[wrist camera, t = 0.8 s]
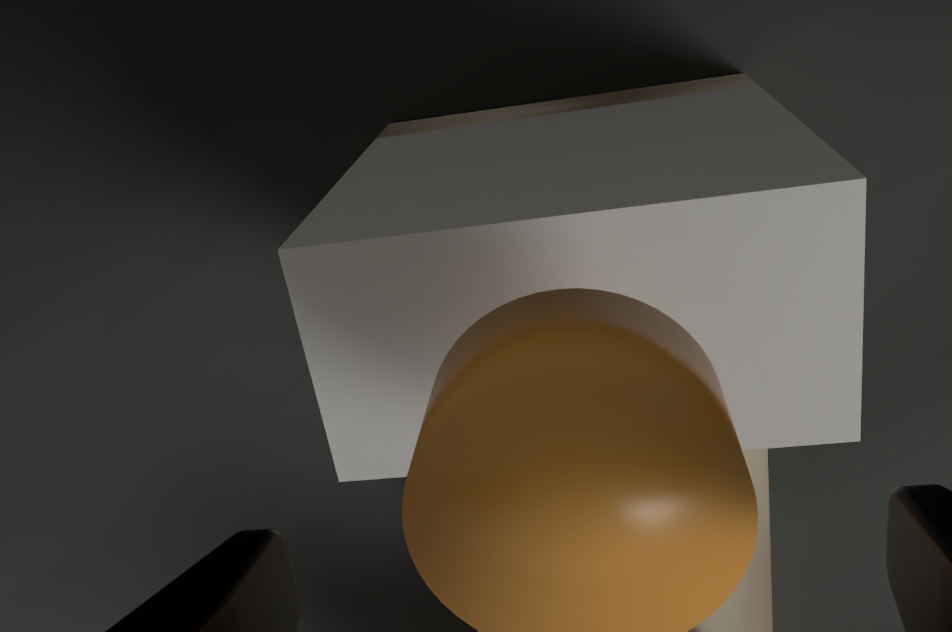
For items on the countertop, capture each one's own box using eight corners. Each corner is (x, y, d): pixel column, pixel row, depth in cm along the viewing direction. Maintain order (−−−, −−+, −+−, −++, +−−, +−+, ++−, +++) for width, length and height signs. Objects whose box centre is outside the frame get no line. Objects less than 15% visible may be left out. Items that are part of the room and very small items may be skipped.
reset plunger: (717, 271, 10) (752, 352, 8) (731, 531, 11) (762, 651, 9) (404, 305, 10) (369, 389, 8) (455, 549, 12) (434, 665, 10)
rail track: (743, 73, 19) (773, 98, 16) (765, 728, 27) (788, 820, 24) (388, 123, 20) (360, 155, 17) (510, 736, 28) (504, 824, 25)
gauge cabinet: (757, 85, 17) (866, 177, 11) (763, 292, 19) (859, 474, 13) (376, 138, 19) (277, 250, 12) (415, 329, 20) (347, 512, 14)
